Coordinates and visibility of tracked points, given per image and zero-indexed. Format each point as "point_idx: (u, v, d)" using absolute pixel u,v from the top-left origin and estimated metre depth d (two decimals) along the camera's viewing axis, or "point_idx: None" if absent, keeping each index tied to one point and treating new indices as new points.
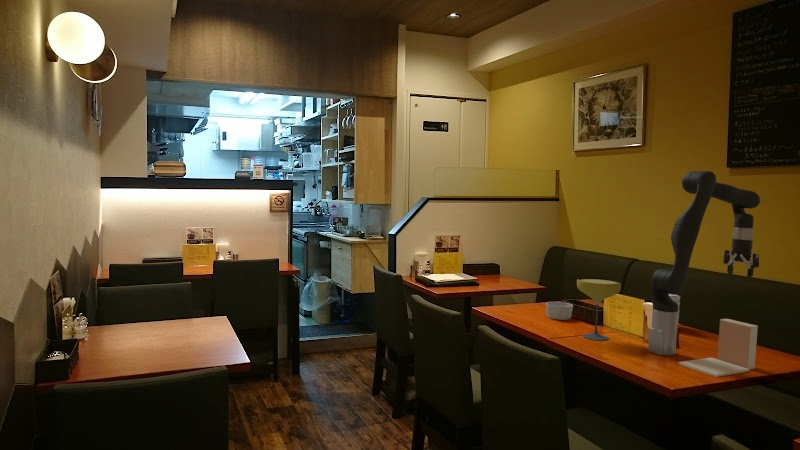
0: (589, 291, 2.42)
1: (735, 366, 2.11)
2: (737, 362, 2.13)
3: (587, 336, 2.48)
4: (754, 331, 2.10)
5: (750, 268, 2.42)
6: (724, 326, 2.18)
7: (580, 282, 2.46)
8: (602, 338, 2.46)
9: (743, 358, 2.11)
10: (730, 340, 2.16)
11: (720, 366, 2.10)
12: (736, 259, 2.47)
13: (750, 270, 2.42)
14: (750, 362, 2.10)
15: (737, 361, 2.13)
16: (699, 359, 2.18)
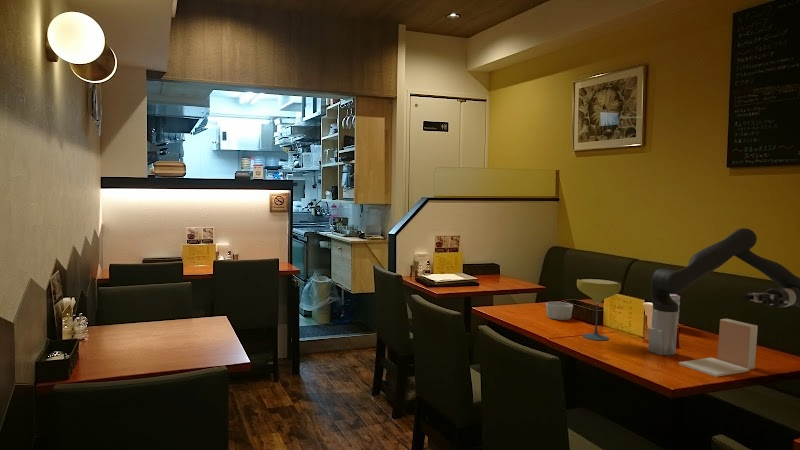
0: (589, 291, 2.42)
1: (735, 366, 2.11)
2: (737, 362, 2.13)
3: (587, 336, 2.48)
4: (754, 331, 2.10)
5: (771, 299, 2.16)
6: (724, 326, 2.18)
7: (580, 282, 2.46)
8: (602, 338, 2.46)
9: (743, 358, 2.11)
10: (730, 340, 2.16)
11: (720, 366, 2.10)
12: (762, 295, 2.22)
13: (770, 299, 2.15)
14: (750, 362, 2.10)
15: (737, 361, 2.13)
16: (699, 359, 2.18)
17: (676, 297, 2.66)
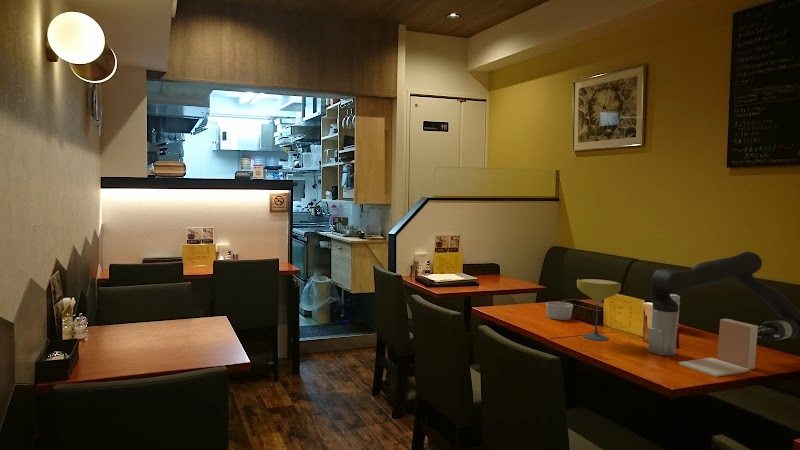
0: (589, 291, 2.42)
1: (735, 366, 2.11)
2: (737, 362, 2.13)
3: (587, 336, 2.48)
4: (754, 331, 2.10)
5: (757, 331, 2.19)
6: (724, 326, 2.18)
7: (580, 282, 2.46)
8: (602, 338, 2.46)
9: (743, 358, 2.11)
10: (730, 340, 2.16)
11: (720, 366, 2.10)
12: None
13: None
14: (750, 362, 2.10)
15: (737, 361, 2.13)
16: (699, 359, 2.18)
17: (676, 297, 2.66)
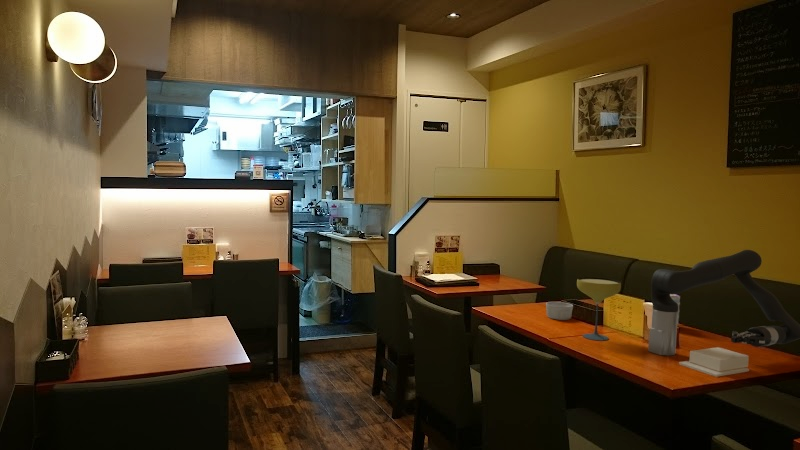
0: (589, 291, 2.42)
1: None
2: None
3: (587, 336, 2.48)
4: (723, 364, 2.04)
5: (743, 337, 2.15)
6: None
7: (580, 282, 2.46)
8: (602, 338, 2.46)
9: None
10: None
11: None
12: None
13: (741, 338, 2.15)
14: (743, 364, 2.09)
15: None
16: None
17: (676, 297, 2.66)
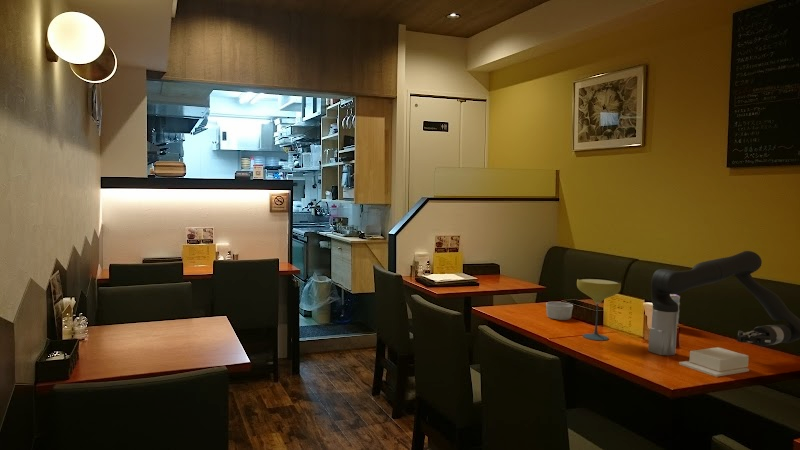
0: (589, 291, 2.42)
1: None
2: None
3: (587, 336, 2.48)
4: (723, 364, 2.04)
5: (748, 336, 2.17)
6: None
7: (580, 282, 2.46)
8: (602, 338, 2.46)
9: None
10: None
11: None
12: None
13: (747, 337, 2.16)
14: (743, 364, 2.09)
15: None
16: None
17: (676, 297, 2.66)
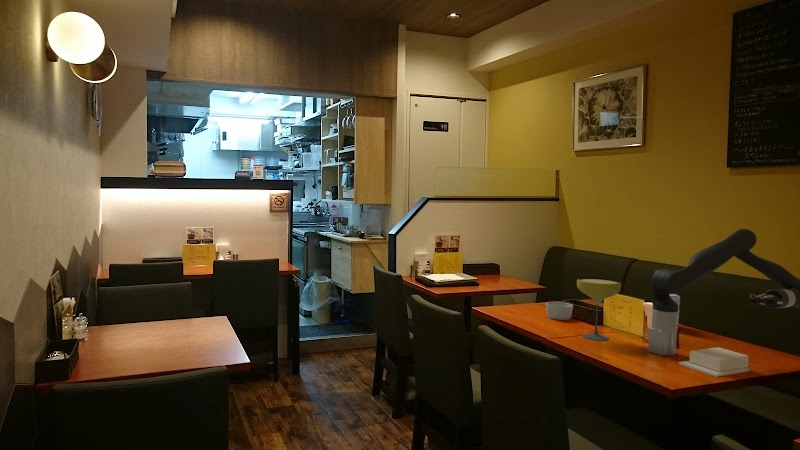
0: (589, 291, 2.42)
1: None
2: None
3: (587, 336, 2.48)
4: (723, 364, 2.04)
5: (761, 298, 2.18)
6: None
7: (580, 282, 2.46)
8: (602, 338, 2.46)
9: None
10: None
11: None
12: None
13: (759, 299, 2.18)
14: (743, 364, 2.09)
15: None
16: None
17: (676, 297, 2.66)
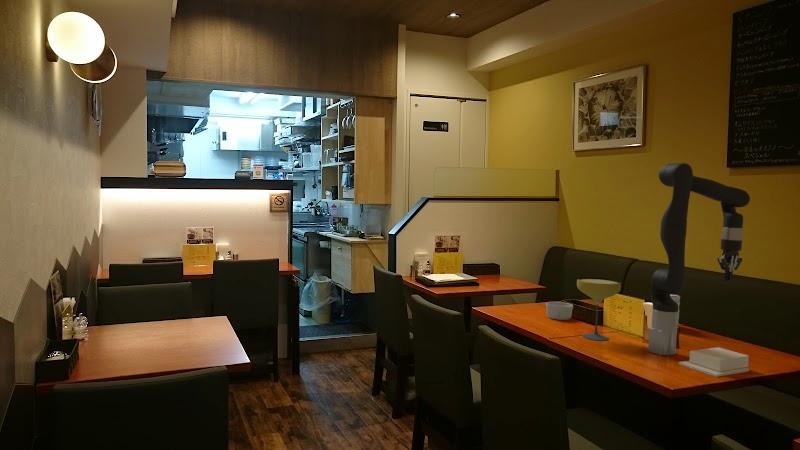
0: (589, 291, 2.42)
1: None
2: None
3: (587, 336, 2.48)
4: (723, 364, 2.04)
5: None
6: None
7: (580, 282, 2.46)
8: (602, 338, 2.46)
9: None
10: None
11: None
12: None
13: None
14: (743, 364, 2.09)
15: None
16: None
17: (676, 297, 2.66)
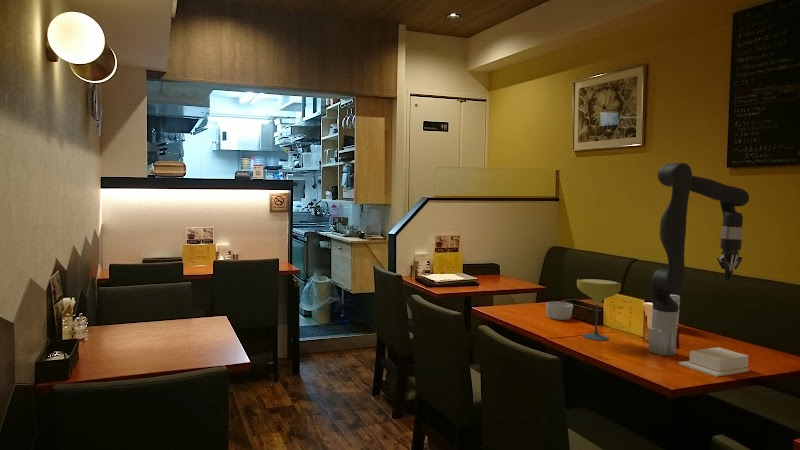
0: (589, 291, 2.42)
1: None
2: None
3: (587, 336, 2.48)
4: (723, 364, 2.04)
5: (733, 270, 2.35)
6: None
7: (580, 282, 2.46)
8: (602, 338, 2.46)
9: None
10: None
11: None
12: None
13: None
14: (743, 364, 2.09)
15: None
16: None
17: (676, 297, 2.66)
